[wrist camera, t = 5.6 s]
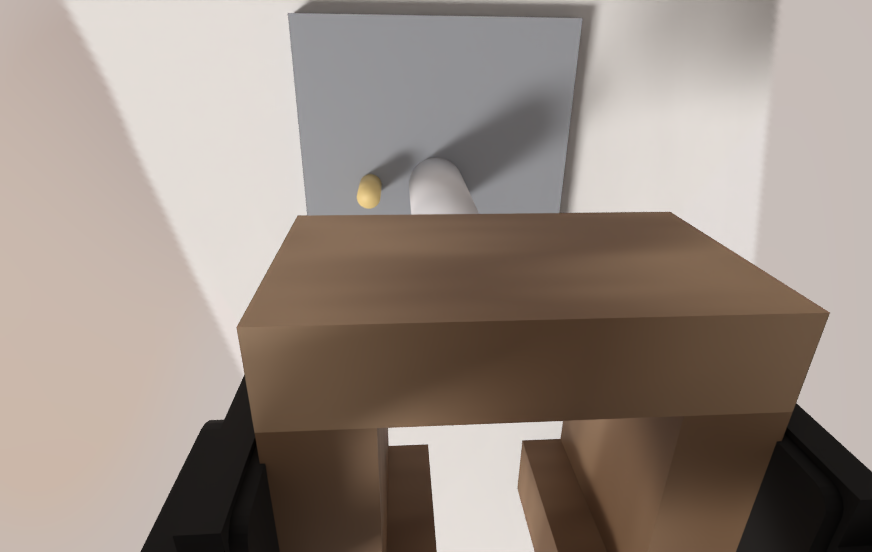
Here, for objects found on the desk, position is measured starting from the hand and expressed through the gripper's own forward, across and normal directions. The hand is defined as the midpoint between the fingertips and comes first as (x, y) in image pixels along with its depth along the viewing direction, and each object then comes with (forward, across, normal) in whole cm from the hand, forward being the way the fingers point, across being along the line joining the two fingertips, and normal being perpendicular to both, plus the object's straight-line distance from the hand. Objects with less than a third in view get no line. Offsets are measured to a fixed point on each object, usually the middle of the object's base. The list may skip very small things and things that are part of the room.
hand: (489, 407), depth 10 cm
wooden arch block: (+1, 0, 0) cm, 1 cm away
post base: (+17, 0, 0) cm, 17 cm away
